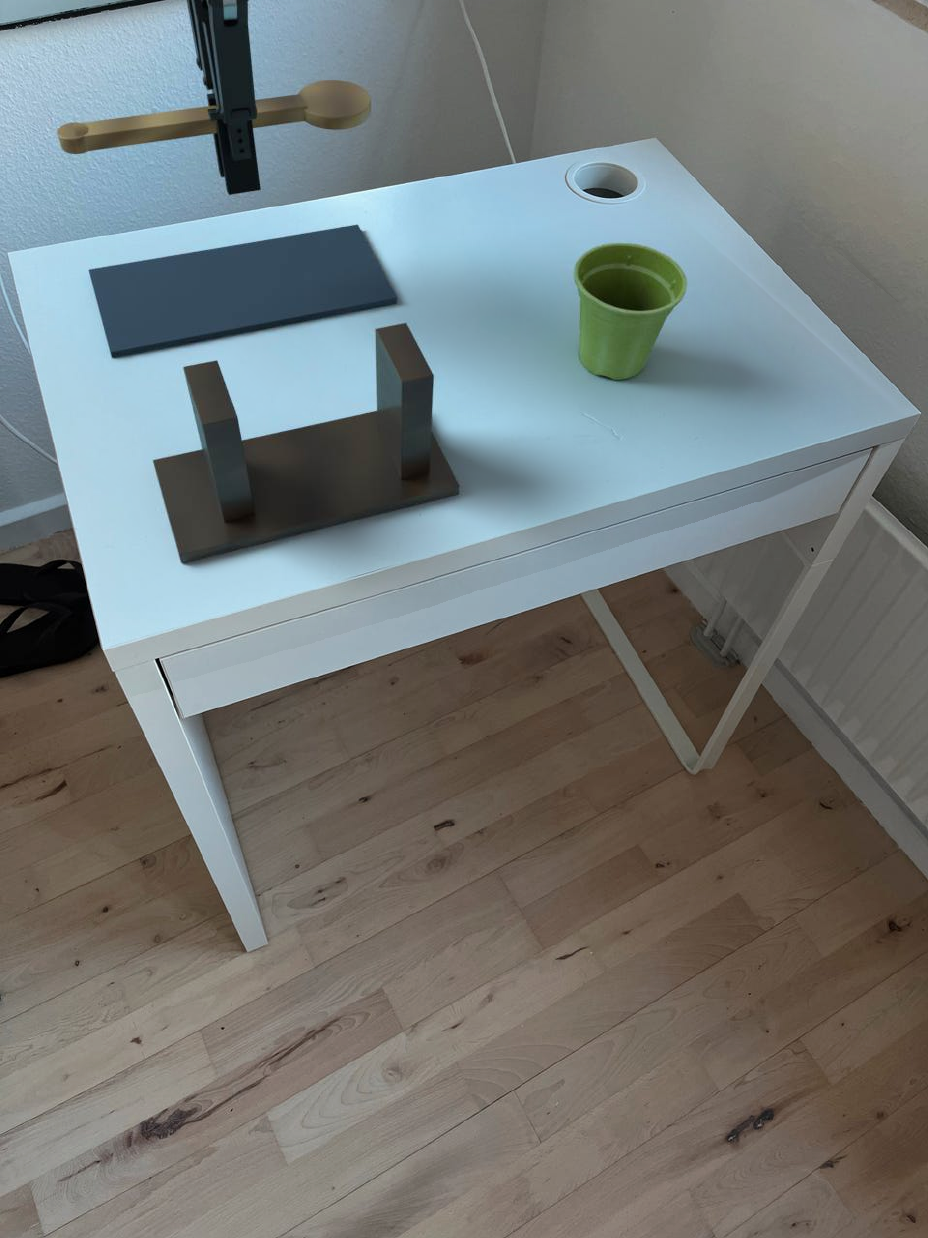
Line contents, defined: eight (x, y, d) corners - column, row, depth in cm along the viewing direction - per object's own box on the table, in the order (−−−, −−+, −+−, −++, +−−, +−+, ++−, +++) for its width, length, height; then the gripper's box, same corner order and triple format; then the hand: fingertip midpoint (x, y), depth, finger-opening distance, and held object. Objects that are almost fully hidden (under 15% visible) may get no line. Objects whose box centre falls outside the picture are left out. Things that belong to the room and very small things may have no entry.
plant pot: (597, 407, 81) (617, 324, 74) (539, 342, 86) (553, 258, 79) (683, 375, 84) (709, 293, 77) (622, 314, 89) (643, 231, 82)
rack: (181, 563, 69) (149, 459, 60) (155, 468, 74) (121, 358, 65) (459, 494, 75) (468, 388, 66) (417, 410, 80) (420, 301, 71)
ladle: (67, 169, 70) (62, 153, 69) (55, 127, 73) (51, 112, 72) (380, 124, 76) (380, 109, 75) (358, 87, 80) (358, 72, 79)
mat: (111, 357, 81) (110, 352, 81) (89, 274, 87) (88, 269, 87) (397, 302, 88) (397, 297, 87) (358, 229, 94) (357, 224, 93)
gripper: (277, -129, 57) (307, 224, 76) (220, -213, 64) (261, 128, 84) (152, -120, 55) (215, 240, 74) (108, -207, 62) (176, 140, 82)
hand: (239, 180), depth 79 cm, fingers closed on ladle, 2 cm apart
